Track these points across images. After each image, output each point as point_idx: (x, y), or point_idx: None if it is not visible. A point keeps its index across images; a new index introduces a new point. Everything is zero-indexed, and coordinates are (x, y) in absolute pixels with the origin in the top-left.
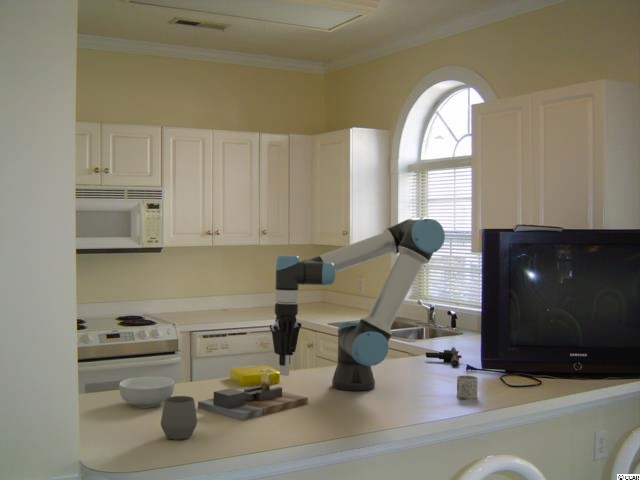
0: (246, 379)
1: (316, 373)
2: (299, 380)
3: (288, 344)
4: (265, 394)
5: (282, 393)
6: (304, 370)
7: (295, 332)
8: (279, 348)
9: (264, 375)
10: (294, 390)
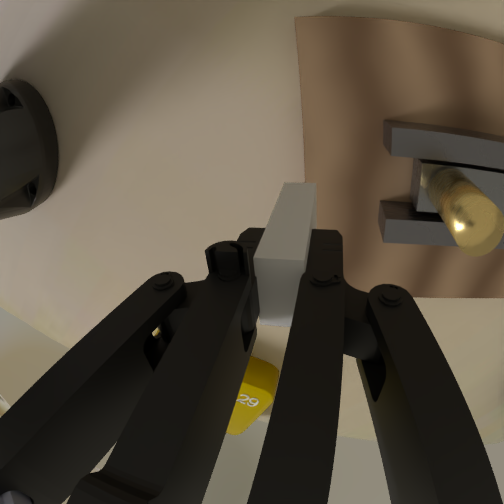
0: (266, 379)
1: (46, 307)
2: (102, 299)
3: (221, 364)
4: (500, 139)
5: (334, 160)
6: (61, 339)
7: (37, 450)
8: (431, 339)
9: (502, 217)
10: (180, 229)
